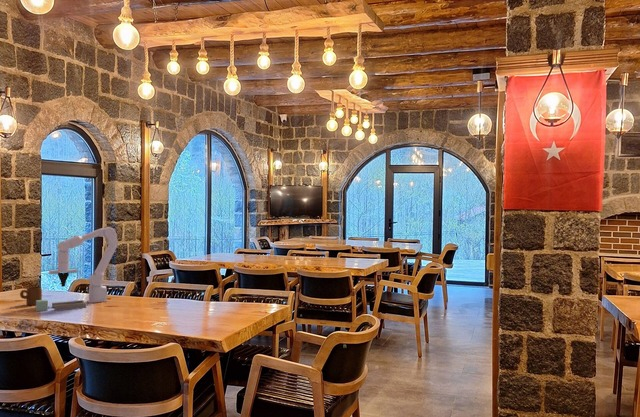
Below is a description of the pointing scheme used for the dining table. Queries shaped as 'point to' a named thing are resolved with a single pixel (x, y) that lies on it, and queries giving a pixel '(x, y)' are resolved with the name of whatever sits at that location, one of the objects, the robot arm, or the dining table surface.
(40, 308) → the block
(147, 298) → the dining table surface
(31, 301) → the mug
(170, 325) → the dining table surface
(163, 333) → the dining table surface
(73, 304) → the chute
